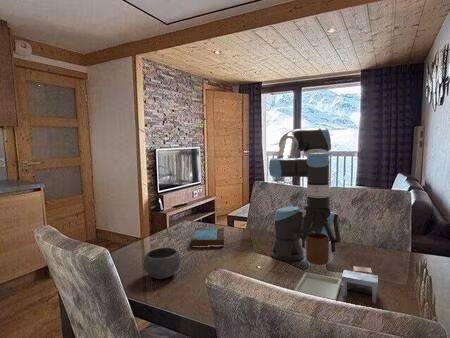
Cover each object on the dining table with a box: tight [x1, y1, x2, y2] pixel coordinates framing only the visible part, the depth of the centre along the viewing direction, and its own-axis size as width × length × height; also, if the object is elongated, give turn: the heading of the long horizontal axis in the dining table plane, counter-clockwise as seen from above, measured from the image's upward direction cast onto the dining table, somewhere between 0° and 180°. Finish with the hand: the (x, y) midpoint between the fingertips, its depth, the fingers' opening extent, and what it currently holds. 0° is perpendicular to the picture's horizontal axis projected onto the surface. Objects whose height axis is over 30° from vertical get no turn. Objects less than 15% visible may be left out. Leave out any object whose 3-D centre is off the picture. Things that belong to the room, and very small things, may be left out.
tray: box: [293, 271, 343, 300], centre depth 103 cm, size 14×17×2 cm
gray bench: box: [341, 269, 379, 304], centre depth 100 cm, size 11×9×7 cm
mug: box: [305, 231, 330, 266], centre depth 103 cm, size 12×8×9 cm, turn 174°
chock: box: [352, 265, 373, 275], centre depth 106 cm, size 6×4×6 cm, turn 69°
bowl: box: [143, 247, 181, 280], centre depth 118 cm, size 15×15×10 cm
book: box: [190, 227, 225, 247], centre depth 162 cm, size 23×18×5 cm
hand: (318, 258), depth 103 cm, fingers closed on mug, 8 cm apart
